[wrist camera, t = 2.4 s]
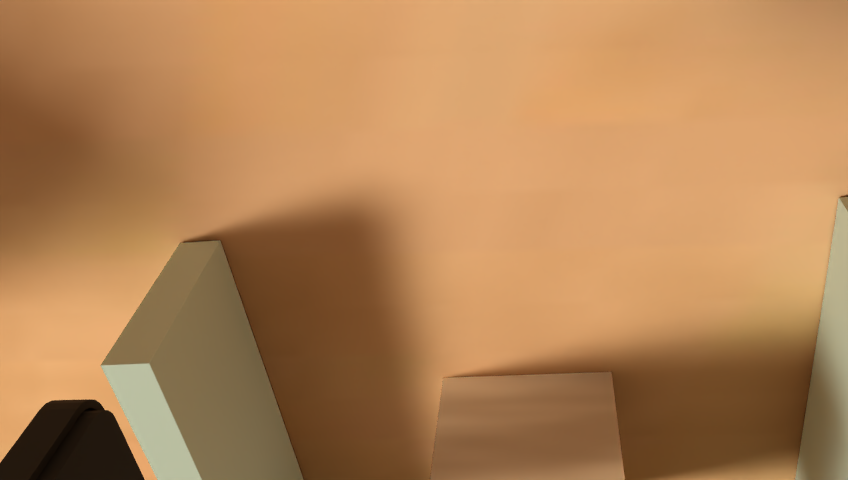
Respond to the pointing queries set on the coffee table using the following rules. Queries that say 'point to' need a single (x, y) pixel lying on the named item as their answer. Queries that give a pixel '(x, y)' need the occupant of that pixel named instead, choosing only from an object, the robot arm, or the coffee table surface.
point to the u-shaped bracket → (256, 405)
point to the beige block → (528, 428)
